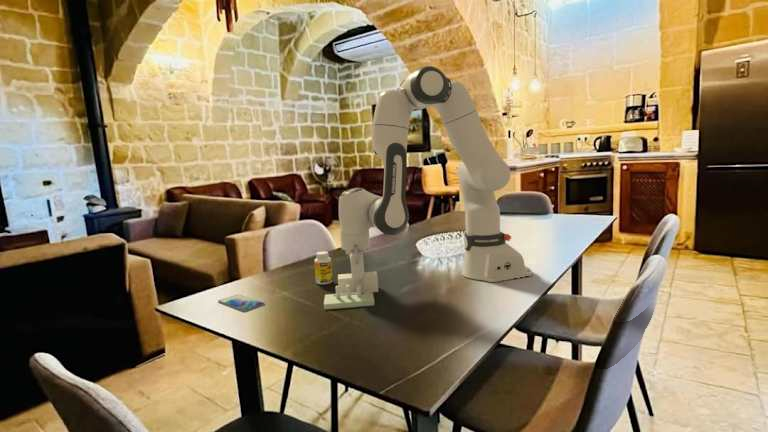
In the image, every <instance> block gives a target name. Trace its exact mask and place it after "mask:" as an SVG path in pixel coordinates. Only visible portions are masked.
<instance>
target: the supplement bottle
mask: <svg viewBox="0 0 768 432" xmlns="http://www.w3.org/2000/svg"><path fill="white" fill-rule="evenodd" d="M315 255H316V257H315V259H314V261H313V262H314V272H315V273H314V274H315V283H316V284H318V285H322V286H323V285H329V284H331V283H332V282H333V268H332V267H333V266H332V265H333V264H332V258H331V257H330V255H329V252H328V251H323V250H322V251H318V252H316V253H315Z"/></svg>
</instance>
